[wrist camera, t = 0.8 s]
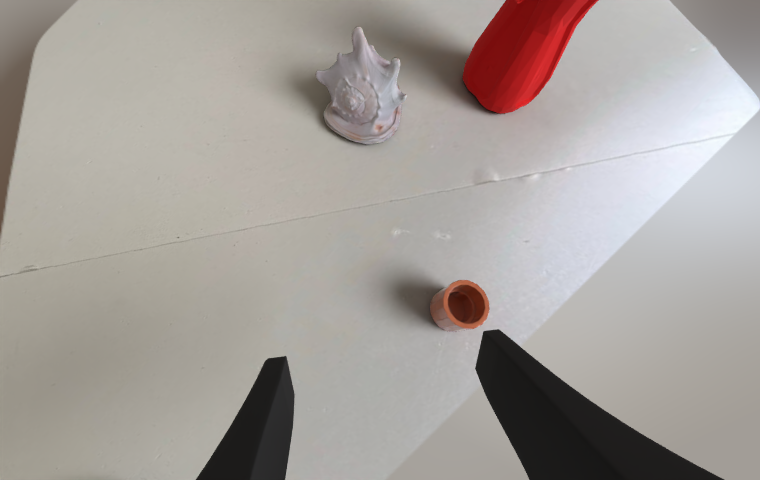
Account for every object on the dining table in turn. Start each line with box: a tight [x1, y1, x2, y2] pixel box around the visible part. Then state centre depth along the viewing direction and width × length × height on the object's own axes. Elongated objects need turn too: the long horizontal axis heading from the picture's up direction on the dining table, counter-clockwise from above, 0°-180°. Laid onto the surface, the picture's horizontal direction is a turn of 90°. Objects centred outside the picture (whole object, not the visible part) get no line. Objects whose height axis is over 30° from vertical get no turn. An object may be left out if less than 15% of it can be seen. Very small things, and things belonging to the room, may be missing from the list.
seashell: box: [316, 26, 407, 144], centre depth 32 cm, size 10×12×9 cm
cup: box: [430, 280, 489, 332], centre depth 26 cm, size 4×4×4 cm
